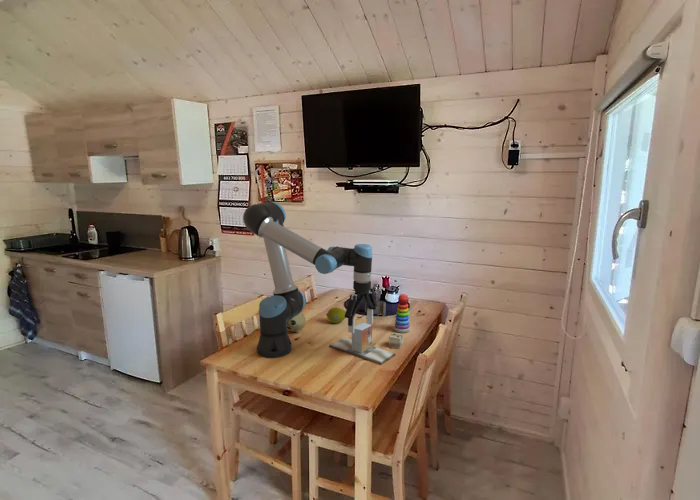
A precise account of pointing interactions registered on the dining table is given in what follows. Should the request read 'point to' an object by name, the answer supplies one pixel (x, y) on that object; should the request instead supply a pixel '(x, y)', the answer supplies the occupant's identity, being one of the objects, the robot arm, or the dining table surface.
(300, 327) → the toy pig
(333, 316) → the green fruit
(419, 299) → the dining table surface
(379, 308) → the grey slab
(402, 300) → the stacking toy
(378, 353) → the game board
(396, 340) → the die
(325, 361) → the dining table surface
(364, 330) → the small box
